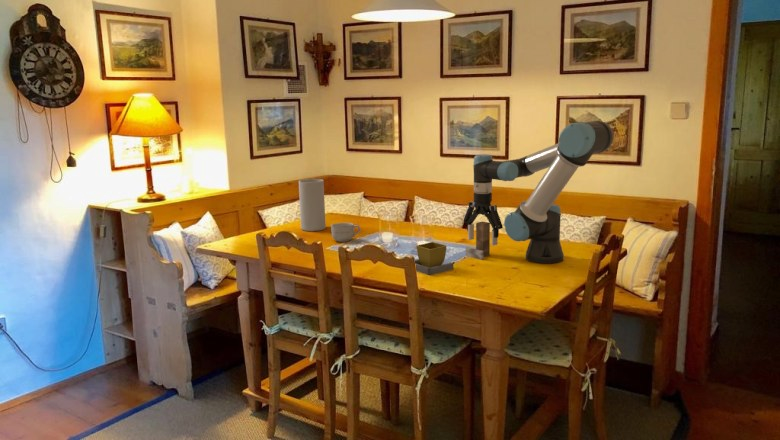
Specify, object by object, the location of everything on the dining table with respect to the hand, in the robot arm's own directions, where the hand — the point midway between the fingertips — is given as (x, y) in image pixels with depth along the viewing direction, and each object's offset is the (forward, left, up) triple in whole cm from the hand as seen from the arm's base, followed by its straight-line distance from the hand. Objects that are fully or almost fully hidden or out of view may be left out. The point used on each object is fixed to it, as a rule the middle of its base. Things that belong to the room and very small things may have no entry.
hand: (482, 242), depth 269 cm
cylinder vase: (+95, +26, -6) cm, 99 cm away
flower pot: (+1, +28, -6) cm, 28 cm away
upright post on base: (0, +2, -6) cm, 6 cm away
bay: (0, +29, -6) cm, 29 cm away
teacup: (+62, +28, -6) cm, 68 cm away
